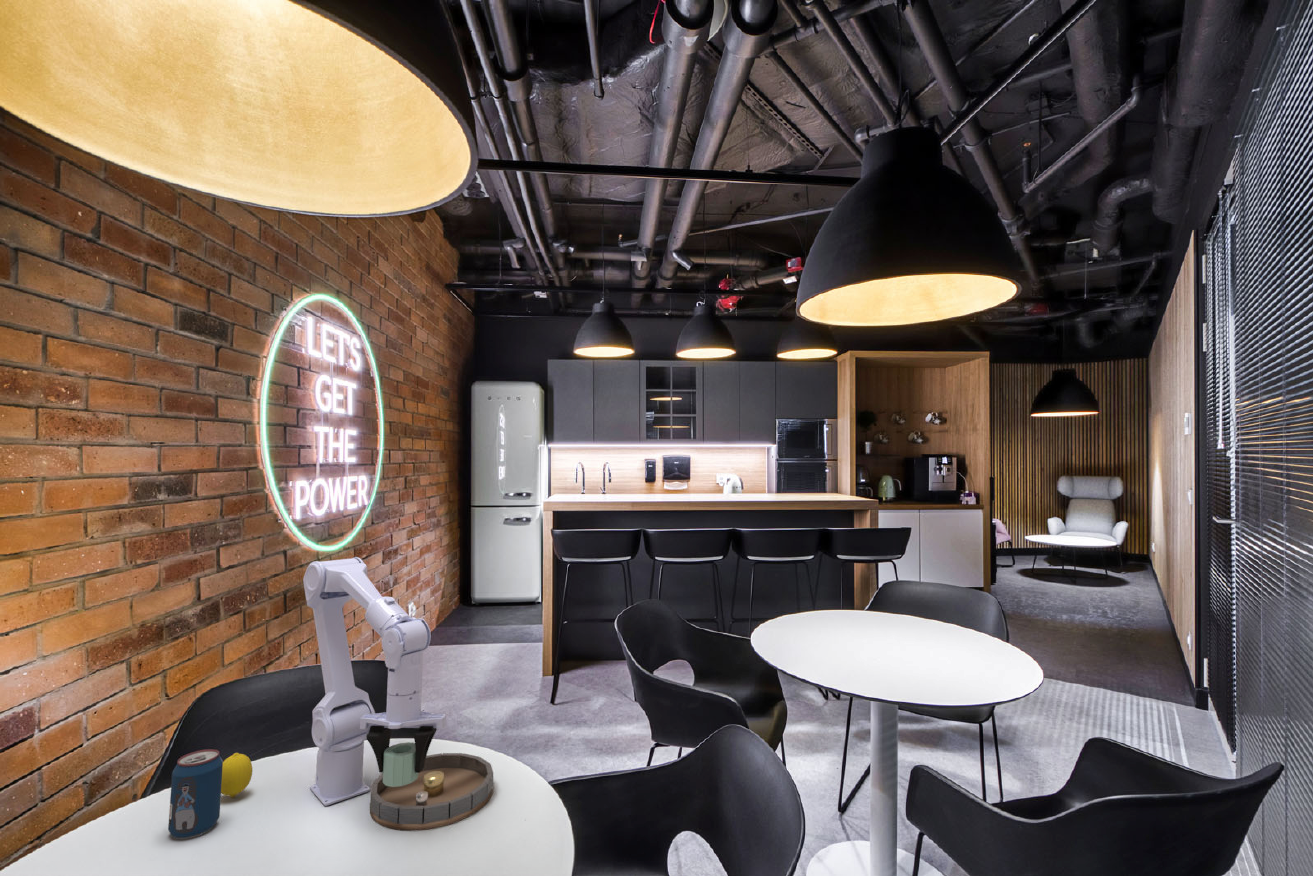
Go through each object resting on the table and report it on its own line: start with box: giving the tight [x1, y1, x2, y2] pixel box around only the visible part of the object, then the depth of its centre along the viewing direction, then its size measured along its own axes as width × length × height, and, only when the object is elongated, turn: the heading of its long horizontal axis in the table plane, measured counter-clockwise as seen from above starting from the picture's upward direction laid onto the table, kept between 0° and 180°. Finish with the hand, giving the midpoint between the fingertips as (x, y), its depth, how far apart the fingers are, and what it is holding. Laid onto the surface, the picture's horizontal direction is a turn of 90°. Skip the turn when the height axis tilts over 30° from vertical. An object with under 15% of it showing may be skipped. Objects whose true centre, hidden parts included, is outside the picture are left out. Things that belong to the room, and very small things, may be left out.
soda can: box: [167, 748, 224, 840], centre depth 102 cm, size 7×7×12 cm
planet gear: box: [383, 741, 418, 787], centre depth 105 cm, size 6×6×5 cm
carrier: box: [369, 752, 494, 832], centre depth 112 cm, size 22×22×4 cm
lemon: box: [221, 752, 253, 799], centre depth 112 cm, size 6×6×8 cm
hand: (401, 770), depth 105 cm, fingers closed on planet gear, 6 cm apart
